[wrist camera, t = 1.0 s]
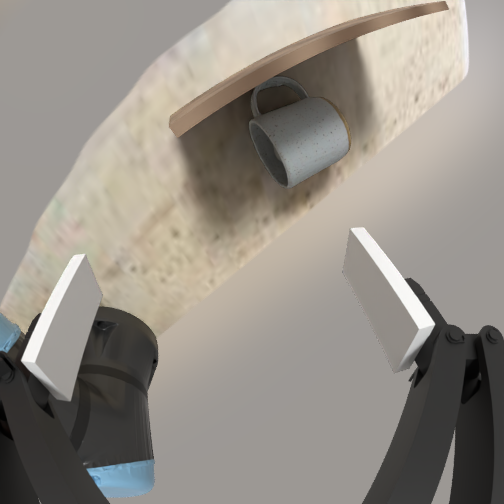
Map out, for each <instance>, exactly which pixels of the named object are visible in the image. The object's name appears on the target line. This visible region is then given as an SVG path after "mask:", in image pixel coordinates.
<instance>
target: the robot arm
mask: <svg viewBox="0 0 504 504" xmlns="http://www.w3.org/2000/svg"><path fill="white" fill-rule="evenodd" d="M343 274H344V276H345V278H346V280H347V282H348V284H349V285H350V287H351V289H352V291H353V293H354V295H355V296H356V298H357V300H358V302H359V304H360V306H361V308H362V310H363V311H364V313H365V315H366V317H367V319H368V321H369V323H370V325H371V327H372V329H373V331H374V333H375V335H376V337H377V339H378V341H379V343H380V345H381V347H382V349H383V351H384V353H385V355H386V357H387V359H388V362H389V364H390V366H391V368H392V370H393V372H394V373H397V372H400V371H403V370H406V369H409V368H410V366H411V365H412V363H413V362H414V360H415V362H416V364H417V365H418V367H417V368H416V370H415V371H414V373H413V374H412V376H411V377H410V379H409V381H411V380H412V379H413V381H412V384H411V388H410V391H409V394H408V397H407V401H406V404H405V407H404V410H403V413H402V415H401V418H400V421H399V424H398V427H397V429H396V432H395V435H394V437H393V440H392V442H391V445H390V447H389V449H388V452H387V454H386V456H385V459H384V461H383V463H382V465H381V467H380V470H379V472H378V474H377V476H376V478H375V480H374V482H373V484H372V486H371V488H370V490H369V492H368V494H367V496H366V497H365V499H364V501H363V503H362V504H431V502H432V500H433V497H434V495H435V492H436V490H437V487H438V484H439V481H440V479H441V476H442V473H443V470H444V467H445V463H446V460H447V457H448V453H449V450H450V446H451V442H452V438H453V434H454V430H455V455H454V469H453V479H452V487H451V495H450V501H449V504H504V339H503V336H502V334H501V333H500V332H499V330H498V329H496V328H495V327H493V326H489V325H487V326H484V327H483V328H482V329H481V330H480V332H479V333H478V334H465V333H464V332H463V331H462V330H461V329H460V328H459V327H457V326H454V325H448V324H447V323H446V321H445V320H444V318H443V317H442V315H441V314H440V312H439V311H438V310H437V308H436V307H435V305H434V304H433V303H432V301H430V298H429V297H428V296H427V295H426V294H425V292H424V290H423V289H422V287H421V286H420V285H419V284H418V283H416V282H415V281H414V280H412V279H411V278H407V279H404V278H403V277H402V276H401V274H400V273H399V272H398V270H397V269H396V268H395V266H394V265H393V264H392V262H391V261H390V260H389V258H388V257H387V256H386V255H385V253H384V252H383V251H382V249H381V248H380V247H379V246H378V244H377V243H376V242H375V241H374V240H373V238H372V237H371V236H370V235H369V233H368V232H367V231H366V230H365V228H363V227H361V228H350V231H349V238H348V244H347V250H346V255H345V261H344V266H343ZM102 296H103V294H102V292H101V290H100V287H99V285H98V283H97V280H96V278H95V276H94V273H93V271H92V268H91V266H90V263H89V261H88V258H87V256H86V254H79V255H73V257H72V259H71V260H70V262H69V264H68V265H67V267H66V269H65V271H64V272H63V274H62V276H61V278H60V279H59V281H58V283H57V285H56V287H55V289H54V291H53V292H52V294H51V296H50V298H49V300H48V302H47V304H46V306H45V308H44V310H43V312H42V313H39V314H38V315H37V316H36V317H35V318H34V320H33V321H32V323H31V325H30V327H29V329H28V332H27V333H26V335H25V334H24V333H23V332H21V329H20V328H19V326H18V325H17V324H14V323H11V322H10V321H9V320H8V319H7V318H6V317H5V316H4V315H2V314H1V313H0V504H40V502H41V504H110V503H109V502H108V500H107V499H106V497H132V496H139V495H143V494H146V493H148V492H149V491H150V490H151V489H152V488H153V486H154V482H155V481H154V480H155V479H154V464H155V461H154V456H153V450H152V441H151V432H150V422H149V411H148V399H147V398H148V396H147V391H148V389H149V386H150V383H151V381H152V378H153V375H154V372H155V370H156V367H157V364H158V345H157V340H156V338H155V336H154V334H153V332H152V331H151V330H150V328H149V327H148V326H147V325H146V324H145V323H143V322H142V321H141V320H139V319H138V318H136V317H135V316H133V315H131V314H129V313H127V312H124V311H121V310H118V309H114V308H109V307H99V304H100V302H101V299H102ZM38 498H39V499H38ZM39 500H40V502H39Z"/></svg>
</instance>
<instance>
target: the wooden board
mask: <svg viewBox="0 0 504 504" xmlns="http://www.w3.org/2000/svg"><path fill="white" fill-rule="evenodd" d="M448 9H449V8H448V6H447V4H446V2H445V1H441V2H433V3H426V4H419V5H413V6H408V7H402V8H397V9H393V10H388V11H384V12H379V13H375V14H371V15H368V16H364V17H360V18H357V19H353V20H350V21H347V22H344V23H341V24H339V25H336V26H333V27H331V28H328V29H326V30H323V31H321V32H318V33H316V34H313V35H311V36H309V37H306V38H304V39H302V40H300V41H297V42H295V43H293V44H291V45H289V46H287V47H285V48H282V49H280V50H278V51H276V52H274V53H272V54H270V55H268V56H266V57H264V58H263V59H261V60H259V61H257V62H255V63H253V64H251V65H250V66H248V67H246V68H244V69H242V70H241V71H239V72H237V73H235V74H234V75H232V76H230V77H229V78H227V79H225V80H224V81H222V82H220V83H219V84H217V85H215V86H214V87H212V88H211V89H209V90H207V91H206V92H204V93H203V94H201V95H200V96H198V97H197V98H195V99H194V100H192V101H191V102H189V103H188V104H186V105H185V106H184V107H182V108H181V109H179V110H178V111H176V112H175V113H174V114H172V115H171V116H170V121H169V127H170V129H171V130H172V131H173V133H174V134H175V135H176V137H177V138H178V137H180V136H181V135H182V134H184V133H185V132H186V131H188V130H189V129H191V128H192V127H193V126H195V125H196V124H198V123H199V122H201V121H202V120H204V119H205V118H207V117H208V116H210V115H211V114H213V113H214V112H216V111H217V110H219V109H220V108H222V107H223V106H225V105H226V104H228V103H230V102H231V101H233V100H234V99H236V98H238V97H239V96H241V95H242V94H244V93H246V92H247V91H249V90H251V89H253V88H254V87H256V86H258V85H259V84H261V83H263V82H265V81H267V80H268V79H270V78H272V77H274V76H276V75H277V74H279V73H281V72H283V71H285V70H287V69H289V68H291V67H293V66H295V65H297V64H299V63H301V62H303V61H305V60H307V59H309V58H311V57H313V56H315V55H317V54H319V53H322V52H324V51H326V50H328V49H330V48H333V47H335V46H337V45H340V44H342V43H344V42H347V41H349V40H352V39H354V38H357V37H359V36H362V35H365V34H367V33H370V32H373V31H375V30H378V29H381V28H384V27H387V26H390V25H393V24H396V23H399V22H402V21H406V20H409V19H412V18H416V17H420V16H423V15H427V14H431V13H435V12H439V11H444V10H448Z"/></svg>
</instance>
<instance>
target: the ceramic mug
mask: <svg viewBox="0 0 504 504" xmlns="http://www.w3.org/2000/svg"><path fill="white" fill-rule="evenodd" d="M281 85H286V86H288V87H290V88H291V89H293V90H294V91H295V92H296V93H297V94H298V96H299V97H300V98H301V100H300V101H297V102H295V103H293V104H290V105H288V106H285V107H282V108H279V109H276V110H273V111H271V112H268V113H265V114H260V112H259V111H258V106H257V100H256V97H257V93H258V92H259V91H260V90H262V89H265V88H269V87H272V86H281ZM251 109H252V113H253V116H254V118H253V119H251V120H250V122H249V130H250V135H251V138H252V141H253V143H254V146H255V149H256V151H257V153H258V155H259V157H260V159H261V161H262V162H263V164H264V166H265V167H266V169H267V171H268V172H269V174H270V175H271V177H273V179H274V180H275V181H276V182H277V183H278V184H279V185H280V186H282V187H283V188H286V189H289V188H291V187H293V186H295V185H297V184H298V183H300V182H302V181H303V180H305V179H307V178H309V177H311V176H312V175H314V174H316V173H318V172H319V171H321V170H323V169H324V168H326V167H328V166H330V165H332V164H334V163H336V162H337V161H339V160H340V159H341V158H342V157H344V156H345V155H346V154H347V152H348V151H349V149H350V145H351V135H350V130H349V127H348V124H347V122H346V120H345V118H344V116H343V114H342V113H341V111H340V110H339V109H338V108H337V107H336V106H335V105H334V104H333V103H332V102H330V101H329V100H327V99H325V98H322V97H314V98H310V97H309V96H308V94H307V92H306V91H305V89H304V88H303V87H302V86H301V85H300V84H299V83H298V82H296V81H295V80H293V79H291V78H288V77H284V76H274V77H272V78H270V79H268V80H267V81H265V82H263V83H261V84H259V85H258V86H256V87H255V88H254V90H253V93H252V96H251Z"/></svg>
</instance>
